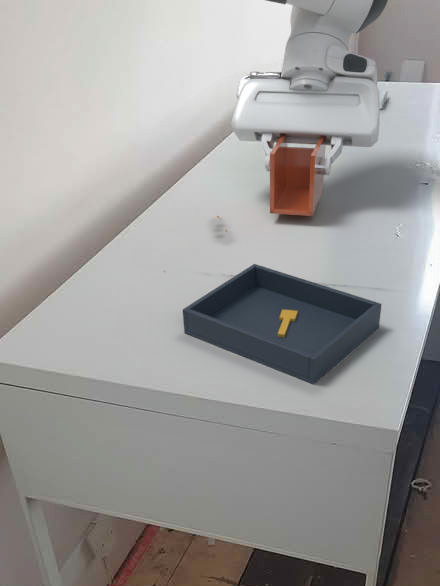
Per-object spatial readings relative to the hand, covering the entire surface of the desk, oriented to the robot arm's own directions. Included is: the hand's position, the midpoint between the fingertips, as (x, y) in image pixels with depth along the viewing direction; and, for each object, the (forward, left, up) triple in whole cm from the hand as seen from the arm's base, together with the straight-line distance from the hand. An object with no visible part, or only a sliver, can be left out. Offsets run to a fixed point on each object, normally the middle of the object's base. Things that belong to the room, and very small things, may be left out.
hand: (297, 171), depth 98 cm
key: (-16, +26, -6) cm, 31 cm away
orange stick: (+7, +8, -7) cm, 13 cm away
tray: (-16, +26, -6) cm, 31 cm away
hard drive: (+22, -53, -7) cm, 57 cm away
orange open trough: (0, -1, -4) cm, 4 cm away
